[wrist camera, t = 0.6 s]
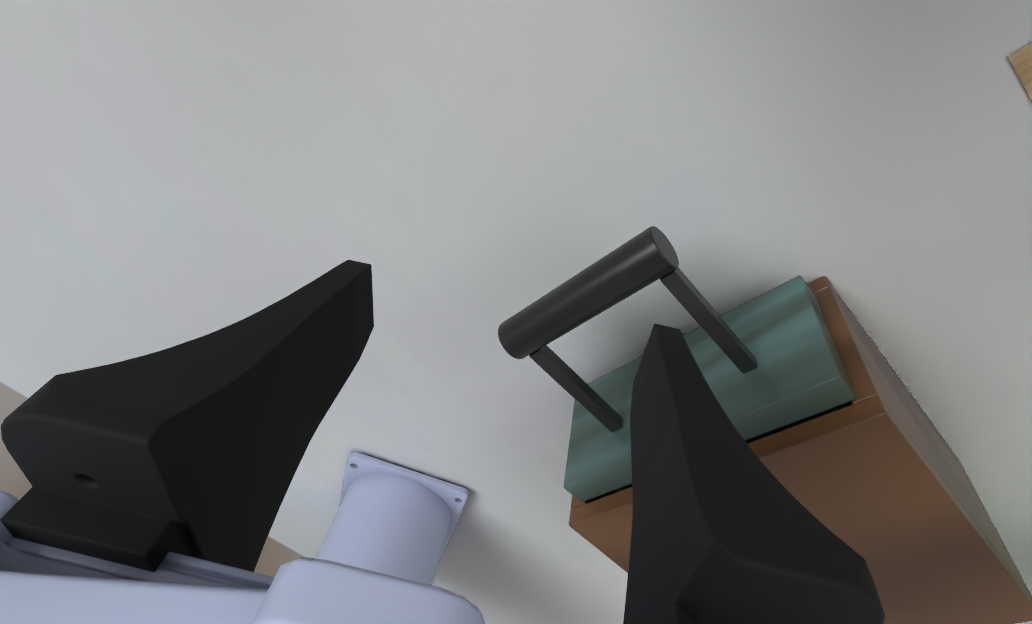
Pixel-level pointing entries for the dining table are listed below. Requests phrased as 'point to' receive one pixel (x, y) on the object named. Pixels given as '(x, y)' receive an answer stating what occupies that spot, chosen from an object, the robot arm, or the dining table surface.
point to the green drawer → (714, 345)
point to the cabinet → (874, 496)
